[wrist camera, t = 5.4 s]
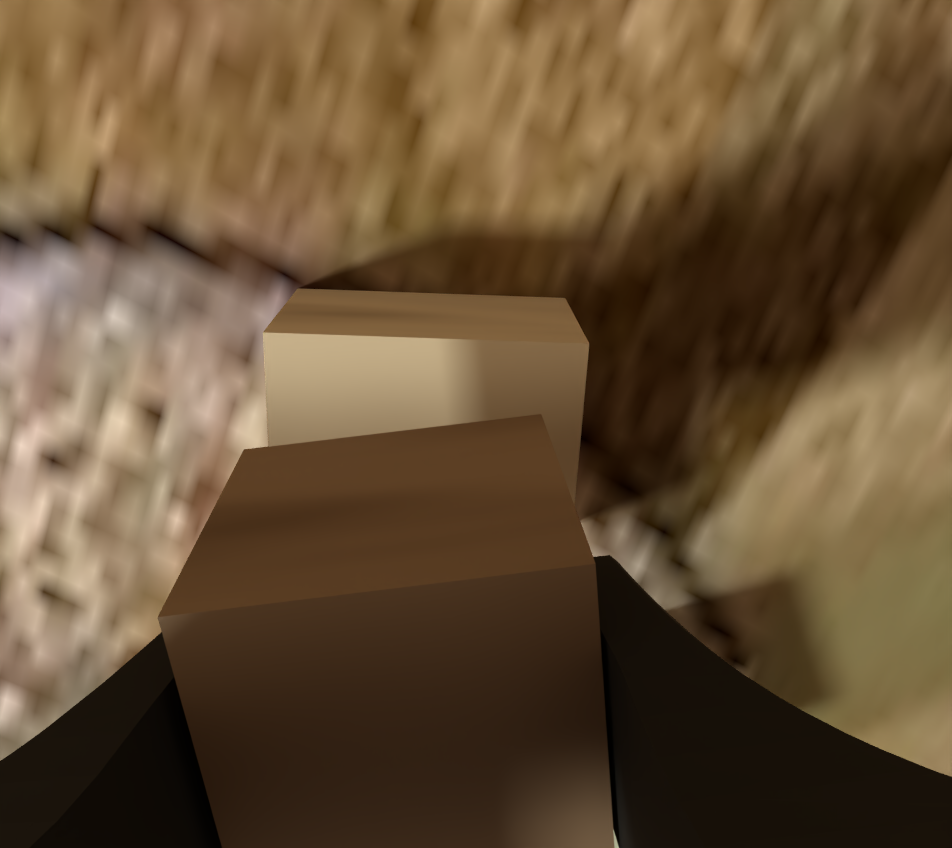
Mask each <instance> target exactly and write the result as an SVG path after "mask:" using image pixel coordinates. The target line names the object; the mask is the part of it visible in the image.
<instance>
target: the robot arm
mask: <svg viewBox="0 0 952 848" xmlns="http://www.w3.org/2000/svg"><path fill="white" fill-rule="evenodd" d="M593 558H594V561H595V564H596V578H597V593H598V608H599V623H600V638H601V653H602V668H603V683H604V698H605V713H606V728H607V743H608V758H609V773H610V788H611V803H612V818H613V830H614V833H615V836H616V840H617V843H618V846H619V848H952V777H950V776H947V775H944V774H941V773H939V772H936V771H933V770H931V769H928V768H925V767H923V766H920V765H918V764H916V763H913V762H911V761H908V760H906V759H903V758H901V757H899V756H896V755H894V754H891V753H889V752H886V751H884V750H881V749H879V748H877V747H875V746H873V745H870V744H868V743H866V742H864V741H862V740H859V739H857V738H855V737H853V736H851V735H849V734H846V733H844V732H842V731H840V730H839V729H837V728H835V727H833V726H831V725H829V724H827V723H825V722H823V721H821V720H819V719H817V718H815V717H813V716H811V715H810V714H808V713H806V712H804V711H802V710H800V709H798V708H797V707H795V706H793V705H791V704H790V703H788V702H786V701H784V700H783V699H781V698H779V697H778V696H776V695H775V694H773V693H771V692H770V691H768V690H767V689H765V688H764V687H762V686H760V685H759V684H757V683H756V682H754V681H753V680H751V679H749V678H748V677H746V676H745V675H743V674H742V673H740V672H739V671H738V670H736V669H735V668H733V667H732V666H730V665H729V664H728V663H726V662H725V661H724V660H723V659H721V658H720V657H719V656H717V655H716V654H715V653H714V652H712V651H711V650H710V649H708V648H707V647H706V646H705V645H703V644H702V643H701V642H700V641H699V640H698V639H696V638H695V637H694V636H693V635H692V634H690V633H689V632H688V631H687V630H686V629H685V628H684V627H683V626H681V625H680V624H679V623H678V622H677V621H676V620H675V619H674V618H673V617H671V616H670V615H669V614H668V613H667V612H666V611H665V610H664V609H663V608H662V607H661V606H660V605H659V604H658V603H656V602H655V601H654V600H653V599H652V598H651V597H650V596H649V595H648V594H647V593H646V592H645V591H644V590H643V589H642V588H641V587H640V585H639V584H638V583H637V582H636V581H635V580H634V579H633V578H632V577H631V576H630V575H629V574H628V573H627V572H626V571H625V569H624V568H623V567H622V566H621V565H620V564H619V563H618V562H617V561H616V560H615V559H614V558H612V557H611V556H610V555H608V556H599V557H593ZM0 848H222V846H221V842H220V839H219V835H218V831H217V828H216V824H215V821H214V817H213V814H212V810H211V806H210V803H209V799H208V796H207V792H206V788H205V785H204V781H203V778H202V774H201V771H200V767H199V763H198V760H197V756H196V753H195V749H194V745H193V742H192V738H191V735H190V731H189V728H188V724H187V720H186V717H185V713H184V710H183V706H182V702H181V699H180V695H179V692H178V688H177V685H176V681H175V677H174V674H173V670H172V667H171V663H170V659H169V656H168V652H167V649H166V645H165V642H164V638H163V634H162V632H161V633H160V634H159V635H158V636H157V637H156V638H155V639H153V640H152V641H151V642H150V643H149V644H148V645H147V646H146V647H144V648H143V649H142V650H141V651H140V652H139V653H137V654H136V655H135V656H134V657H133V658H132V659H131V660H129V661H128V662H127V663H126V664H125V665H124V666H122V667H121V668H120V669H119V670H118V671H117V672H115V673H114V674H113V675H112V676H111V677H110V678H109V679H107V680H106V681H105V682H104V683H103V684H101V685H100V686H99V687H98V688H96V689H95V690H94V691H93V692H91V693H90V694H89V695H88V696H86V697H85V698H84V699H83V700H81V701H80V702H79V703H78V704H76V705H75V706H74V707H72V708H71V709H70V710H69V711H67V712H66V713H65V714H64V715H62V716H61V717H60V718H59V719H57V720H56V721H55V722H54V723H52V724H51V725H50V726H49V727H47V728H46V729H45V730H43V731H42V732H41V733H39V734H38V735H37V736H35V737H34V738H33V739H31V740H30V741H28V742H27V743H26V744H24V745H23V746H21V747H20V748H19V749H17V750H16V751H14V752H13V753H12V754H10V755H9V756H7V757H6V758H4V759H3V760H1V761H0Z"/></svg>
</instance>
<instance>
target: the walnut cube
mask: <svg viewBox="0 0 952 848" xmlns="http://www.w3.org/2000/svg"><path fill="white" fill-rule="evenodd" d="M158 620H159V624H160V627H161V631H162V634H163V638H164V642H165V645H166V649H167V652H168V656H169V659H170V663H171V667H172V670H173V674H174V677H175V681H176V685H177V688H178V692H179V695H180V699H181V702H182V706H183V710H184V713H185V717H186V720H187V724H188V728H189V731H190V735H191V738H192V742H193V745H194V749H195V753H196V756H197V760H198V763H199V767H200V771H201V774H202V778H203V781H204V785H205V788H206V792H207V796H208V799H209V803H210V806H211V810H212V814H213V817H214V821H215V824H216V828H217V831H218V835H219V839H220V842H221V846H222V848H614V833H613V818H612V803H611V788H610V773H609V758H608V743H607V728H606V713H605V698H604V683H603V668H602V653H601V638H600V623H599V608H598V593H597V578H596V564H595V561H594V558H593V555H592V553H591V550H590V547H589V544H588V542H587V539H586V536H585V533H584V530H583V528H582V525H581V522H580V519H579V517H578V514H577V511H576V508H575V506H574V503H573V500H572V497H571V495H570V492H569V489H568V486H567V484H566V481H565V478H564V475H563V473H562V470H561V467H560V464H559V462H558V459H557V456H556V453H555V451H554V448H553V445H552V442H551V439H550V437H549V434H548V431H547V428H546V426H545V423H544V420H543V417H542V415H541V414H537V415H529V416H520V417H512V418H504V419H495V420H487V421H478V422H470V423H462V424H453V425H445V426H437V427H428V428H420V429H412V430H403V431H395V432H387V433H378V434H370V435H362V436H353V437H345V438H337V439H328V440H320V441H312V442H303V443H295V444H287V445H278V446H270V447H262V448H253V449H245V450H244V451H243V453H242V455H241V456H240V458H239V460H238V462H237V464H236V466H235V468H234V470H233V472H232V474H231V476H230V478H229V480H228V482H227V484H226V486H225V488H224V489H223V491H222V493H221V495H220V497H219V499H218V501H217V503H216V505H215V507H214V509H213V511H212V513H211V515H210V517H209V519H208V521H207V522H206V524H205V526H204V528H203V530H202V532H201V534H200V536H199V538H198V540H197V542H196V544H195V546H194V548H193V550H192V552H191V554H190V555H189V557H188V559H187V561H186V563H185V565H184V567H183V569H182V571H181V573H180V575H179V577H178V579H177V581H176V583H175V585H174V587H173V589H172V590H171V592H170V594H169V596H168V598H167V600H166V602H165V604H164V606H163V608H162V610H161V612H160V614H159V616H158Z"/></svg>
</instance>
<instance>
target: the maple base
mask: <svg viewBox="0 0 952 848" xmlns="http://www.w3.org/2000/svg"><path fill="white" fill-rule="evenodd" d="M263 343H264V365H265V386H266V407H267V429H268V447H270V446H278V445H287V444H295V443H303V442H312V441H320V440H328V439H337V438H345V437H353V436H362V435H370V434H378V433H387V432H395V431H403V430H412V429H420V428H428V427H437V426H445V425H453V424H462V423H470V422H478V421H487V420H495V419H504V418H512V417H520V416H529V415H537V414H541V415H542V417H543V420H544V423H545V426H546V428H547V431H548V434H549V437H550V439H551V442H552V445H553V448H554V451H555V453H556V456H557V459H558V462H559V464H560V467H561V470H562V473H563V475H564V478H565V481H566V484H567V486H568V489H569V492H570V495H571V497H572V500H573V503H574V506H575V495H576V484H577V474H578V463H579V452H580V441H581V430H582V419H583V408H584V397H585V386H586V375H587V364H588V353H589V342H588V340H587V338H586V336H585V335H584V333H583V331H582V329H581V327H580V325H579V323H578V321H577V320H576V318H575V316H574V314H573V312H572V310H571V308H570V306H569V305H568V303H567V301H566V299H565V298H553V297H525V296H497V295H469V294H441V293H412V292H384V291H356V290H328V289H300V288H298V289H297V290H296V292H295V293H294V294H293V295H292V297H291V298H290V299H289V300H288V302H287V303H286V304H285V305H284V307H283V308H282V309H281V310H280V312H279V313H278V314H277V315H276V317H275V318H274V319H273V320H272V322H271V323H270V324H269V326H268V327H267V328H266V329H265V331H264V332H263Z"/></svg>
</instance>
